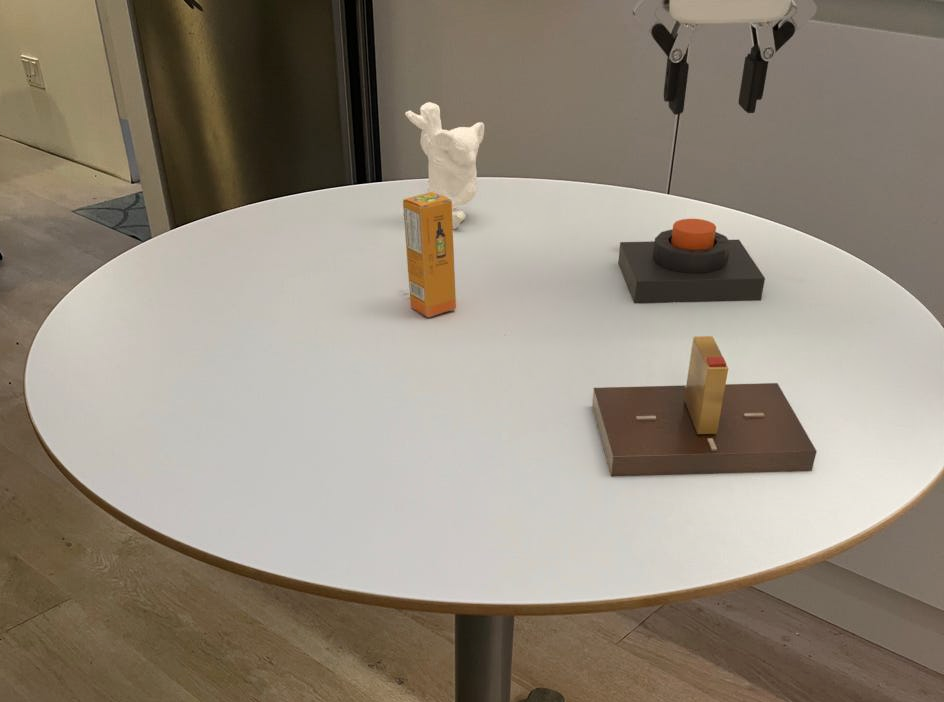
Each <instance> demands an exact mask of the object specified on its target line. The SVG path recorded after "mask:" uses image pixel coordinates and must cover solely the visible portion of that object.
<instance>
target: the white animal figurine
mask: <svg viewBox="0 0 944 702" xmlns="http://www.w3.org/2000/svg"><path fill="white" fill-rule="evenodd" d="M419 111H420V114H417V113H415V112H413V110H410V109H409V110H408V111H405V113H404V115H405V117H406V118H407V119H408V120H409V122H411V123H412V124H413V125H414V126H416V127H417V128H418V129H420V130H421V133H420V142H419V143H420V147H421V150H422V152H424V154H425V155H426V156H427V160H428V165H427V169H428V176H427V177H428V180H427V182H428V189H427V191H426V193H429V192H433V193H436V194H439V195H442V196H444V197H446V198H449V199H451V200H452V223H453V230H456V229H458V228H459V227H460V225H461V223H462V222H463V221H465V219H466V218H467V212H466V211H465V210H463V209H459V208H458V207H460V206H464V205H467V204H468V203H470V202H472V200H474V199H475V198H476V195H477V191H478V190H477V189H478V188H477V177H478V176H477V175H478V172H477V165H476V163H477V156H478V153H479V148H480V144H481V143H482V142H483V139H484V136H485V124H484V122H482V121H481V122H479V121H478V122H476V123H475V124H473V125H472V126H469V127H468V126H466V127H465V126H458V127H456V128H452V129H450V130H449V129H448V130H447V129H443V128H442V120H441V109H440V106H439V105H438V104H437V103H435V102H431V101H428V102H426V103H424V104H422V105H421V106H420V108H419Z"/></svg>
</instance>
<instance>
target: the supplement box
mask: <svg viewBox="0 0 944 702" xmlns="http://www.w3.org/2000/svg"><path fill="white" fill-rule="evenodd" d="M402 206H403V220H404V222H403V223H404V236H405V249H406V264H407V275H408V287H409V299H410V300H409V301H410V302H409V303H410V307H411V309H412V310H414V311H416V312H417V313H419V314H421V315H422V316H424V317H426V318H432V317H435V316H437V315H441V314H443V313H447V312H452V311H455V310H456V308H457V301H456V299H457V298H456V297H457V296H456V274H455V251H454V249H455V247H454V229H453V223H452V200H451V199H449V198H446V197H444V196H442V195H439V194H436V193H433V192H429V193H427V192H425V193H422V194H418V195H413V196H411V197H406V198H403V200H402Z"/></svg>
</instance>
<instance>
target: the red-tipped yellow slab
mask: <svg viewBox="0 0 944 702" xmlns="http://www.w3.org/2000/svg"><path fill="white" fill-rule="evenodd" d="M728 373H729V367H728V365H727V362H726V360H725V357H724V356H723V355H722V352H721V349H720V348H719V346H718V344H717V342H716V340H715V338H714V336H712V335H707V336H706V335H703V336H693V339H692V344H691V352H690V359H689V365H688V371H687V376H686V377H687V378H686V391H685V398H684V401H685V404H686V406H687V409H688V411H689V414H690V416H691V419H692V421H693V424H694V427H695V429H696V432H697V434H717V430H718V424H719V419H720V413H721V407H722V402H723V396H724V390H725V385H726V384H727V379H728Z"/></svg>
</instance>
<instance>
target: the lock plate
mask: <svg viewBox="0 0 944 702" xmlns="http://www.w3.org/2000/svg"><path fill="white" fill-rule="evenodd" d="M685 391H686V385H683V384H681V385H651V386H650V385H647V386H646V385H645V386H643V385H642V386H608V387H607V386H606V387H605V386H604V387H593V391H592V392H593V393H592V404H591V408H592V412H593V415H594V418H595V422H596V426H597V430H598V433H599V437H600V441H601V445H602V448H603V451H604V455H605V459H606V463H607V466H608V470H609V474H610V477H612V478H613V477H642V476H643V477H644V476H645V477H646V476H678V475H679V476H680V475H682V476H683V475H713V474H714V475H715V474H716V475H719V474H752V473H755V474H756V473H788V472H789V473H793V472H812V471H813V467H814V464H815V460H816V456H817V451H818V450H817V449H816V448H815V446H814V444H813V442H812V440H811V439H810V436H809V435H808V433H807V432H806V430H805V428H804V426H803V425H802V423H801V421H800V420H799V417H798V416H797V414H796V413H795V411H794V408H793V407H792V405H791V404H790V402H789V400H788V399H787V397H786V395H785V393H784V392H783V390H782V388H781V387H780V385H779V383H778V382H765V383H764V382H763V383H726V385H725V390H724V396H723V402H722V407H721V413H720V419H719V424H718V430H717V434H697V432H696V429H695V427H694V424H693V421H692V419H691V416H690V414H689V411H688V409H687V406H686V404H685V401H684V398H685Z"/></svg>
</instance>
